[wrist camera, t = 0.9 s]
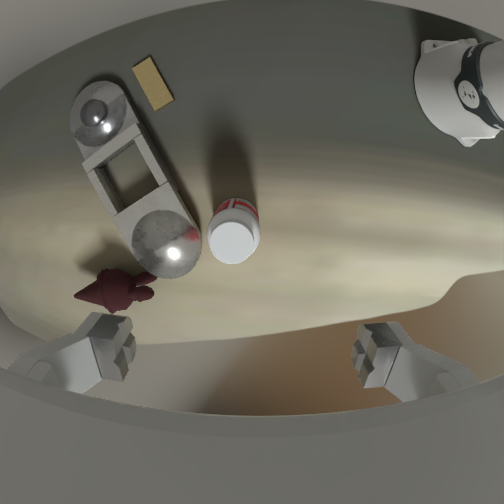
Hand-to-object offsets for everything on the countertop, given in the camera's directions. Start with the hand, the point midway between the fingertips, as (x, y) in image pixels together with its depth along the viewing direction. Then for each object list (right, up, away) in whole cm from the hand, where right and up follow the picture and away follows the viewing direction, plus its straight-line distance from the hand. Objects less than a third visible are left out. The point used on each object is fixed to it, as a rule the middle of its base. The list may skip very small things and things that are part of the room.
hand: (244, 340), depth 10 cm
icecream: (-21, -2, +35) cm, 41 cm away
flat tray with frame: (-17, +14, +29) cm, 36 cm away
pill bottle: (-2, +8, +31) cm, 32 cm away
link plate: (-13, +27, +25) cm, 39 cm away
